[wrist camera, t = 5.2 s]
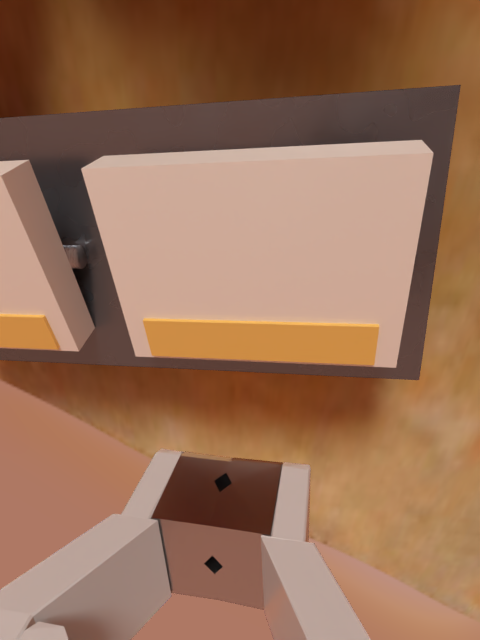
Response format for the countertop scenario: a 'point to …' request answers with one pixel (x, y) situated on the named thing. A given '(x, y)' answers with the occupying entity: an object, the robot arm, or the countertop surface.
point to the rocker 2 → (264, 249)
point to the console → (223, 134)
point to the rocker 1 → (35, 271)
